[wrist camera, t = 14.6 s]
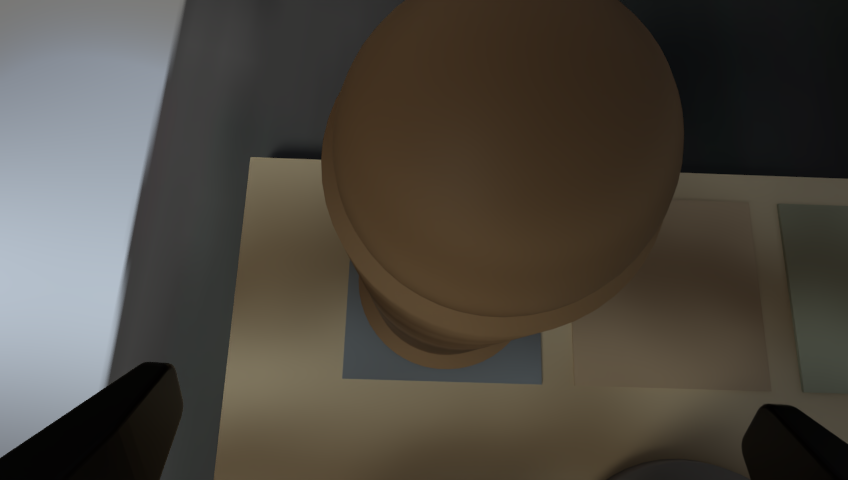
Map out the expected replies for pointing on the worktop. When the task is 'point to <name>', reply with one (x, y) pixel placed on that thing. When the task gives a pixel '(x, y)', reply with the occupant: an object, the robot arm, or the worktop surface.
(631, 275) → the pawn
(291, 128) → the worktop surface
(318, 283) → the game board
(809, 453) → the robot arm
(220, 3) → the worktop surface
